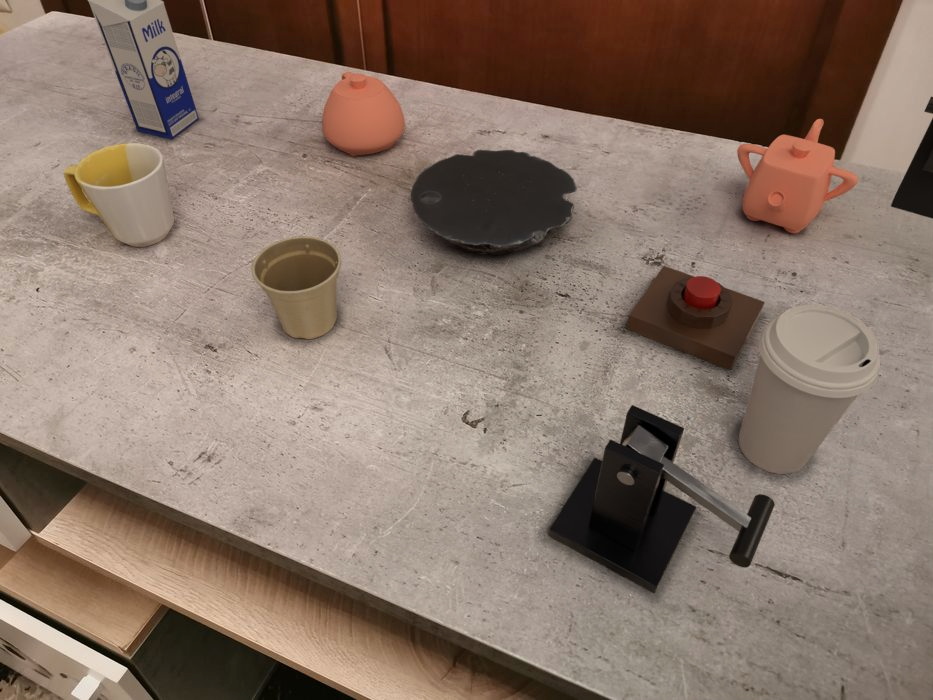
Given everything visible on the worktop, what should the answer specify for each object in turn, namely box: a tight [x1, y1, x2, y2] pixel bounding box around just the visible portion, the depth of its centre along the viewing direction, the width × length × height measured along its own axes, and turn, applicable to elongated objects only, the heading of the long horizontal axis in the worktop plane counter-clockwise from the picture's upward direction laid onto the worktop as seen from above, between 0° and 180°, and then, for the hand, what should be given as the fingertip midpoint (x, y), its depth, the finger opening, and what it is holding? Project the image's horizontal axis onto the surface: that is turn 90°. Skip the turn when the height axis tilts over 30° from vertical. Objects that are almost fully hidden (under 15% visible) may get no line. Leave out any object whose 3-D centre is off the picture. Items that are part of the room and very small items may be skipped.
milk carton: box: [87, 0, 200, 141], centre depth 108 cm, size 7×7×20 cm
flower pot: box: [251, 235, 342, 340], centre depth 80 cm, size 9×9×9 cm
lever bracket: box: [548, 404, 697, 594], centre depth 60 cm, size 10×9×13 cm
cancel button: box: [683, 275, 721, 309], centre depth 79 cm, size 4×4×2 cm
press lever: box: [622, 425, 776, 569], centre depth 56 cm, size 12×6×2 cm, turn 57°
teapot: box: [736, 118, 859, 234], centre depth 93 cm, size 14×12×10 cm
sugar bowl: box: [321, 71, 406, 157], centre depth 107 cm, size 12×14×10 cm
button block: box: [625, 265, 765, 371], centre depth 81 cm, size 12×10×4 cm
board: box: [410, 149, 578, 256], centre depth 94 cm, size 22×22×5 cm
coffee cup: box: [738, 303, 881, 475], centre depth 65 cm, size 10×10×15 cm
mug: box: [63, 142, 175, 248], centre depth 92 cm, size 14×10×10 cm
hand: (915, 206), depth 46 cm, fingers closed
